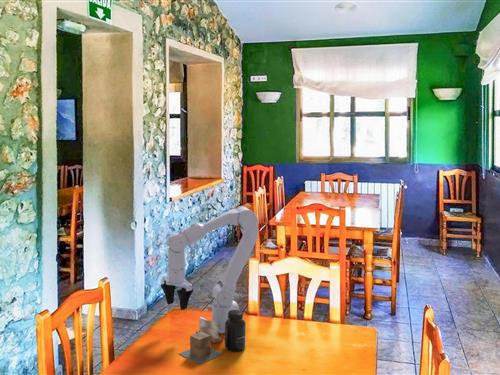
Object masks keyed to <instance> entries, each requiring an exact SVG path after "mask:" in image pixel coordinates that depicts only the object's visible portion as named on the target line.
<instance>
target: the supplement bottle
mask: <svg viewBox="0 0 500 375" xmlns="http://www.w3.org/2000/svg"><path fill="white" fill-rule="evenodd" d="M246 324H247V323H246V321H245V319H244V313H243V310H240V309H239V310H230V311H229V312H228V319H227V320H226V321H225V333H224V344H223V345H224V348H225V349H226V350H227V351H229V352H235V353H236V352H242V351H243V350H245V349H246V330H247V327H246Z"/></svg>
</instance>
